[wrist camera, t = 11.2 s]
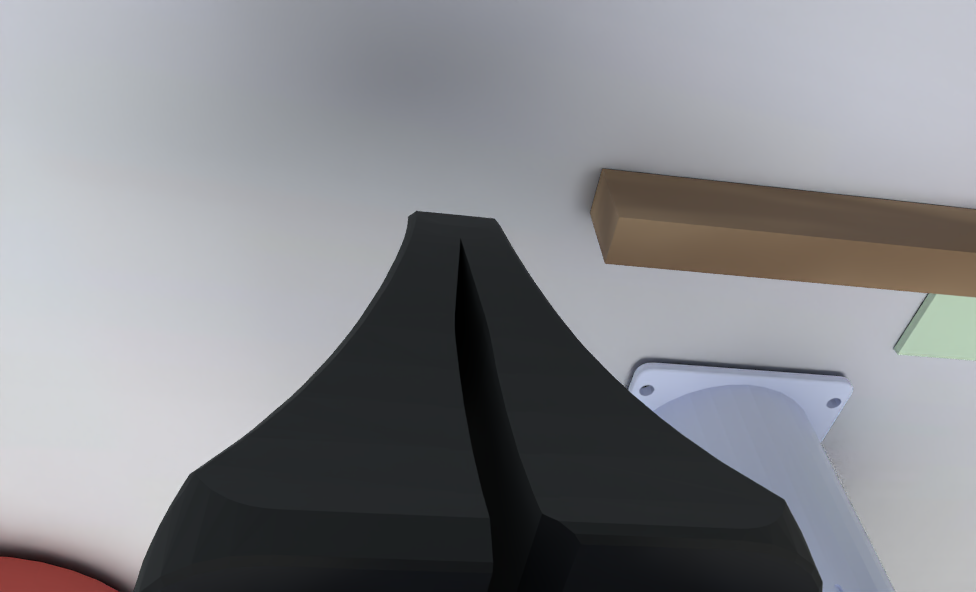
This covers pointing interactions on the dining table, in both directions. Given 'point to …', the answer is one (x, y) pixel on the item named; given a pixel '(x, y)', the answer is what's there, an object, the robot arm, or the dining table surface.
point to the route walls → (784, 234)
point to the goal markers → (942, 329)
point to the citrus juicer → (44, 578)
